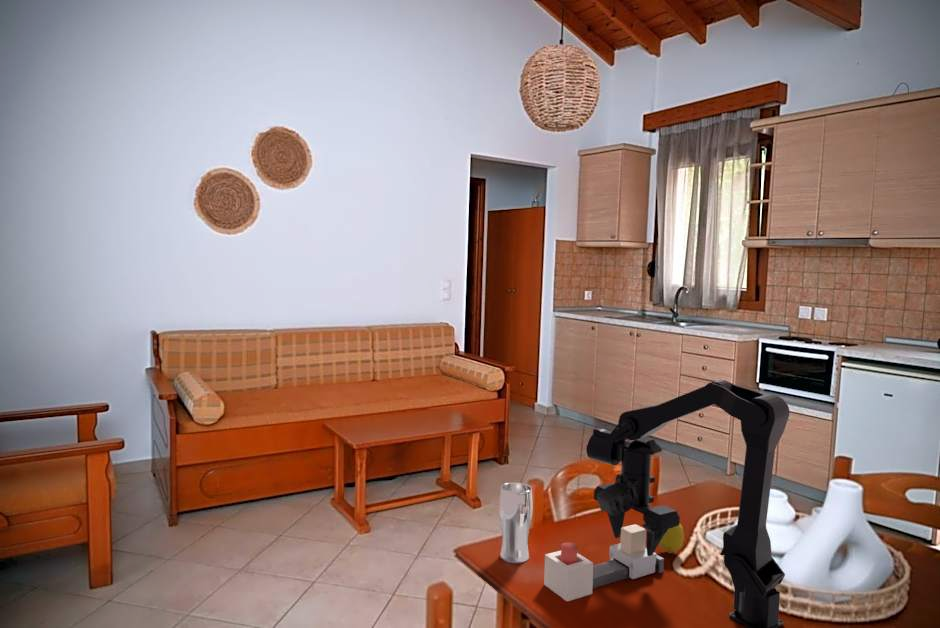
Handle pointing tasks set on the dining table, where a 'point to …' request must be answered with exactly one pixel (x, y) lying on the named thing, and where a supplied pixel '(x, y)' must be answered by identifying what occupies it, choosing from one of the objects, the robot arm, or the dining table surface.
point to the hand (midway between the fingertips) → (633, 546)
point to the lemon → (672, 539)
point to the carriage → (633, 552)
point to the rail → (617, 571)
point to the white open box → (568, 576)
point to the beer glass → (515, 520)
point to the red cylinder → (569, 553)
